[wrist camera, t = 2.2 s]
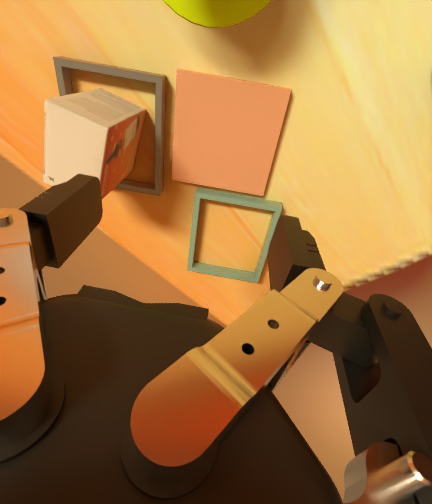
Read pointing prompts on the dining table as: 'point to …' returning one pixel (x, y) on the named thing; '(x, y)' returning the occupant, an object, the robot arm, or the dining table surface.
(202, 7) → the toy cauldron
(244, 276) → the green rectangular frame
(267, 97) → the terracotta tile
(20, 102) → the dining table surface
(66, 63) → the grey rectangular frame
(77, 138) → the small box
